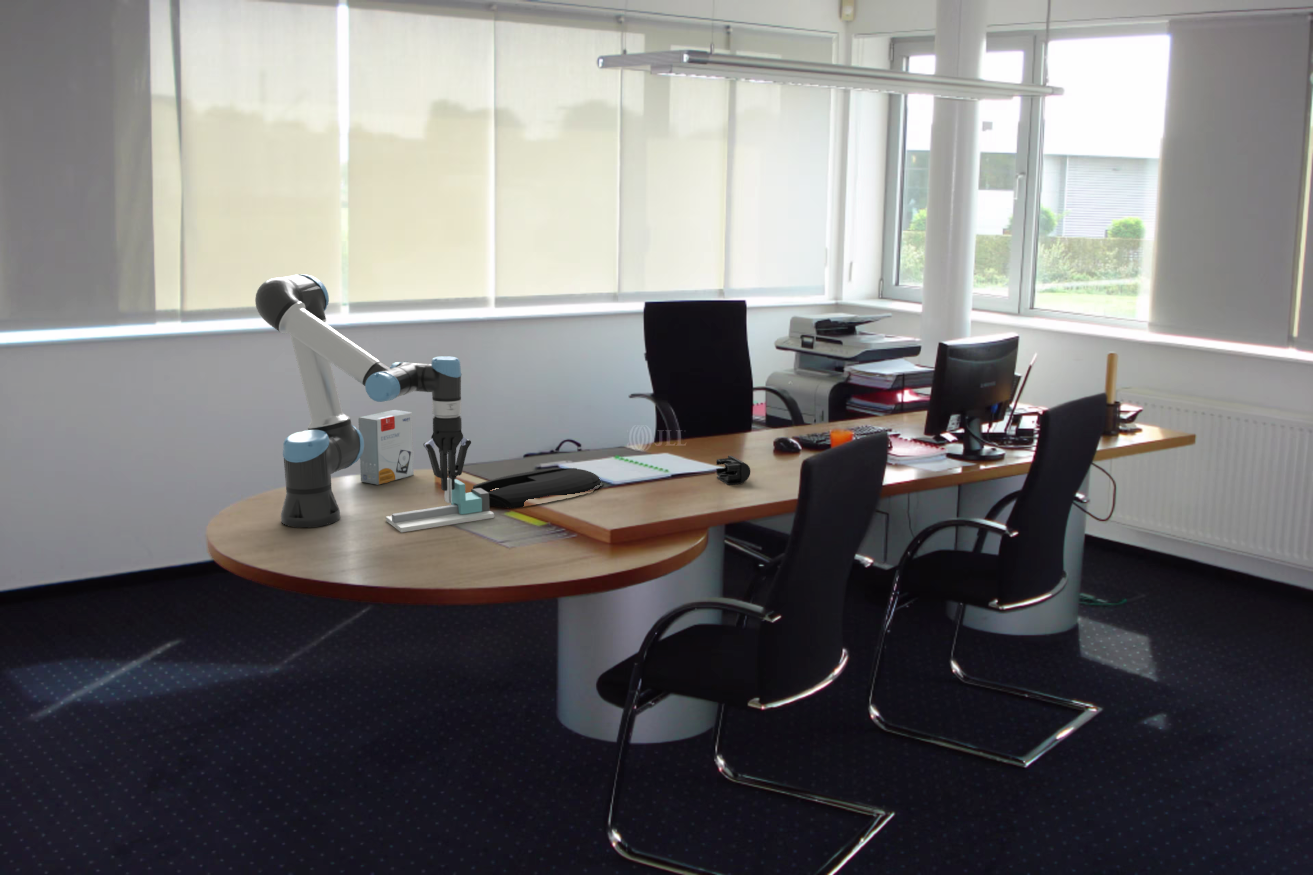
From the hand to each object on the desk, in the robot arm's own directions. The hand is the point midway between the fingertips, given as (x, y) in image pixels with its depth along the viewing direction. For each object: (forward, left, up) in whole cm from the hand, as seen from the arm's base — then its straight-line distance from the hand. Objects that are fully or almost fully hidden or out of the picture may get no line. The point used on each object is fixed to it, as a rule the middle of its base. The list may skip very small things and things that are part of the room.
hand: (448, 501), depth 318 cm
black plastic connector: (+88, -6, -5) cm, 89 cm away
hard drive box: (0, +49, -5) cm, 50 cm away
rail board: (-2, 0, -5) cm, 5 cm away
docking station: (+33, +13, -5) cm, 36 cm away
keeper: (+5, 0, -3) cm, 6 cm away
